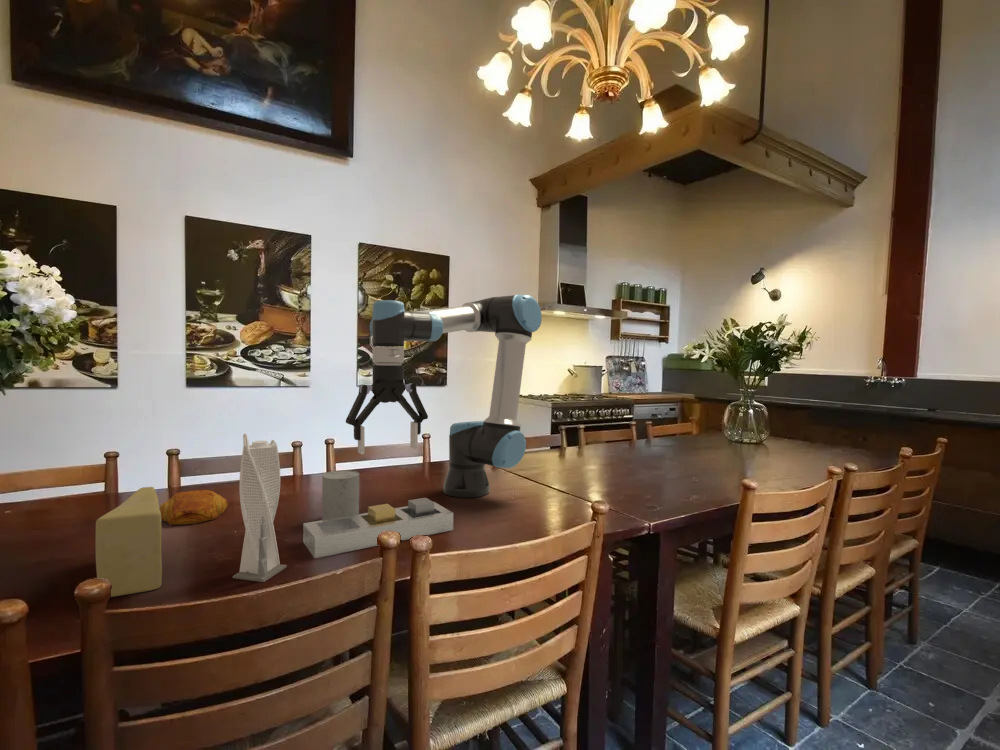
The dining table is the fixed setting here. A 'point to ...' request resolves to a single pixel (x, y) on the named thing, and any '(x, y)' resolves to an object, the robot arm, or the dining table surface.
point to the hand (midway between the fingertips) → (388, 450)
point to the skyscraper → (259, 510)
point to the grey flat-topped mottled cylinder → (340, 494)
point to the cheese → (131, 544)
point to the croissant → (192, 507)
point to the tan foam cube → (381, 514)
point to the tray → (375, 528)
